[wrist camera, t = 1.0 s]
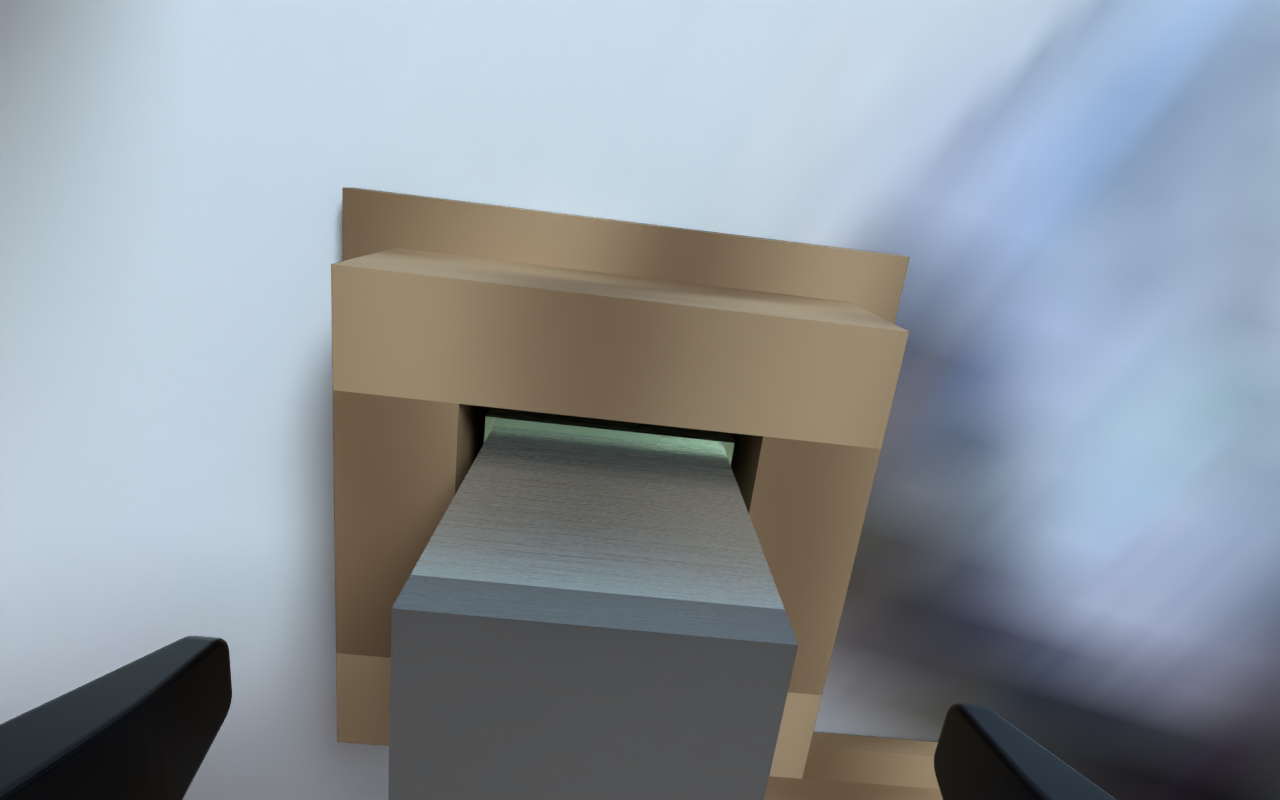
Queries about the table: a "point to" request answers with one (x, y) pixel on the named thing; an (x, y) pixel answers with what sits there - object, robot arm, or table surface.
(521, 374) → the marked collar
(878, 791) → the wooden square base
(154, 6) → the table surface
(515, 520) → the marked post
